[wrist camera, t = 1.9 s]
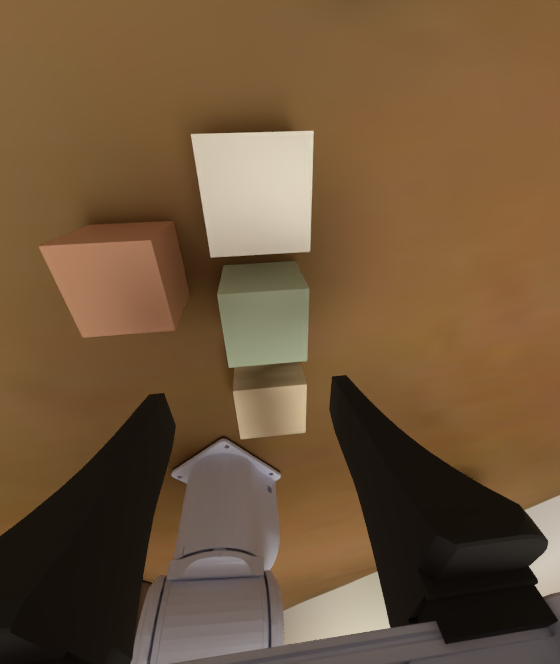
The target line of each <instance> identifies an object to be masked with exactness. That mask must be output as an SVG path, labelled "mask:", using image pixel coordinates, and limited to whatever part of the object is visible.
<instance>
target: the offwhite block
mask: <svg viewBox="0 0 560 664" xmlns="http://www.w3.org/2000/svg"><path fill="white" fill-rule="evenodd" d="M313 135H314V131H287V132H249V133H211V134H191V139H192V145H193V151H194V157H195V163H196V170H197V176H198V182H199V188H200V194H201V201H202V207H203V213H204V219H205V225H206V231H207V238H208V244H209V250H210V256H211V257H229V256H246V255H263V254H280V253H297V252H310V240H311V205H312V170H313Z"/></svg>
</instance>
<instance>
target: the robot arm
mask: <svg viewBox="0 0 560 664" xmlns="http://www.w3.org/2000/svg"><path fill="white" fill-rule="evenodd" d="M329 410H330V414H331V418H332V422H333V426H334V430H335V433H336V436H337V439H338V441H339V444H340V447H341V449H342V452H343V455H344V457H345V460H346V462H347V465H348V468H349V470H350V473H351V476H352V478H353V481H354V484H355V487H356V490H357V494H358V497H359V501H360V504H361V508H362V512H363V515H364V519H365V523H366V527H367V531H368V534H369V538H370V542H371V546H372V550H373V554H374V558H375V562H376V567H377V571H378V575H379V579H380V584H381V588H382V592H383V596H384V600H385V605H386V610H387V615H388V619H389V624H390V627H391V628H389V629H382V630H376V631H370V632H364V633H357V634H351V635H345V636H339V637H332V638H326V639H320V640H314V641H307V642H302V643H295V644H289V645H284V620H283V606H282V598H281V592H280V587H279V584H278V581H277V580H276V578H275V577H274V576H273V573H272V572H271V571H270V569H271V567H272V566H273V564H274V562H275V559H276V556H277V553H278V549H279V543H280V530H279V519H278V508H277V497H276V486H275V481H276V480H278V479H280V478H281V474H280V473H279V472H278V471H276V470H275V469H273V468H271V467H270V466H268V465H267V464H265V463H264V462H262V461H260V460H259V459H257V458H256V457H254V456H252V455H251V454H249V453H248V452H246V451H245V450H243V449H241V448H240V447H238V446H237V445H235V444H234V443H232V442H230V441H229V440H227V439H220V440H219V441H217V442H216V443H214V444H213V445H211V446H210V447H208V448H206V449H205V450H203V451H202V452H200V453H199V454H197V455H196V456H194V457H193V458H191V459H190V460H188V461H187V462H185V463H184V464H182V465H180V466H179V467H177V468H176V469H174V470H173V471H172V474H171V476H172V477H174V478H176V479H178V480H180V481H182V482H184V483H186V484H187V487H186V492H185V498H184V503H183V509H182V514H181V519H180V525H179V530H178V536H177V541H176V547H175V552H174V558H173V560H171V561H170V563H169V568H168V574H167V576H166V575H160V576H158V577H157V579H156V581H154V583H153V584H152V585H151V586H150V587H149V589H148V592H147V594H146V598H145V601H144V604H143V608H142V612H141V616H140V620H139V624H138V629H137V633H136V638H135V632H136V624H137V616H138V608H139V601H140V594H141V587H142V580H143V573H144V567H145V561H146V555H147V549H148V543H149V538H150V533H151V527H152V522H153V517H154V513H155V509H156V504H157V501H158V497H159V494H160V490H161V487H162V483H163V480H164V476H165V473H166V469H167V466H168V462H169V459H170V455H171V451H172V447H173V441H174V434H175V427H176V425H175V422H174V420H173V417H172V414H171V411H170V408H169V406H168V403H167V400H166V397H165V394H164V393H160V394H150V395H148V397H147V398H146V399H145V400H144V401H143V402H142V403H141V405H140V406H139V407H138V408H137V409H136V410H135V412H134V413H133V414H132V415H131V416H130V418H129V419H128V420H127V421H126V422H125V423H124V424H123V426H122V427H121V428H120V429H119V430H118V431H117V432H116V433H115V435H114V436H113V437H112V438H111V439H110V440H109V441H108V442H107V443H106V444H105V446H104V447H103V448H102V449H101V450H100V451H99V452H98V453H97V454H96V455H95V456H94V457H93V458H92V459H91V460H90V461H89V462H88V463H87V464H86V465H85V466H84V467H83V468H82V469H81V470H80V471H79V472H78V473H77V474H75V475H74V476H73V477H72V478H71V479H70V480H69V481H68V482H67V483H66V484H65V485H63V486H62V487H61V488H60V489H59V490H58V491H56V492H55V493H54V494H53V495H52V496H50V497H49V498H48V499H47V500H46V501H44V502H43V503H42V504H41V505H40V506H38V507H37V508H36V509H35V510H34V511H32V512H31V513H30V514H29V515H27V516H26V517H25V518H24V519H22V520H21V521H20V522H18V523H17V524H16V525H14V526H13V527H12V528H11V529H9V530H8V531H7V532H5V533H4V534H3V535H1V536H0V664H130V662H131V664H560V592H558V593H554V594H550V595H547V596H545V597H542V596H541V594H540V593H539V591H538V590H537V588H536V587H535V586H534V585H535V584H537V583H538V580H537V578H536V577H535V575H534V574H533V572H532V571H531V569H530V568H529V565H531V564H532V563H533V562H534V561H535V560H536V559H537V558H538V557H539V556H541V555H542V554H543V553H544V551H545V550H546V549H547V546H548V540H547V539H546V538H545V536H544V535H543V533H542V532H541V531H540V529H539V528H538V527H537V526H536V524H535V523H534V522H533V520H532V519H531V518H530V517H529V515H528V514H527V513H526V512H525V511H524V510H523V509H522V507H521V506H520V505H519V504H517V503H515V502H513V501H511V500H509V499H507V498H506V497H504V496H502V495H500V494H498V493H496V492H494V491H492V490H491V489H489V488H487V487H485V486H483V485H481V484H480V483H478V482H476V481H474V480H473V479H471V478H469V477H468V476H466V475H464V474H463V473H461V472H459V471H458V470H456V469H455V468H453V467H451V466H450V465H448V464H447V463H445V462H444V461H442V460H441V459H439V458H438V457H436V456H435V455H433V454H432V453H430V452H429V451H428V450H426V449H425V448H424V447H422V446H421V445H419V444H418V443H417V442H416V441H414V440H413V439H412V438H410V437H409V436H408V435H407V434H406V433H404V432H403V431H402V430H401V429H400V428H398V427H397V426H396V425H395V424H394V423H393V422H392V421H390V420H389V419H388V418H387V417H386V416H385V415H384V414H383V413H382V412H381V411H380V410H379V409H378V408H377V407H376V406H375V405H374V404H373V403H372V402H371V401H370V400H369V399H368V398H367V397H366V396H365V395H364V394H363V393H362V392H361V391H360V390H359V389H358V388H357V387H356V386H355V384H354V383H353V382H352V381H351V380H350V379H349V378H348V377H347V376H346V375H343V376H333V377H332V384H331V396H330V408H329ZM134 640H135V643H134Z"/></svg>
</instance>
